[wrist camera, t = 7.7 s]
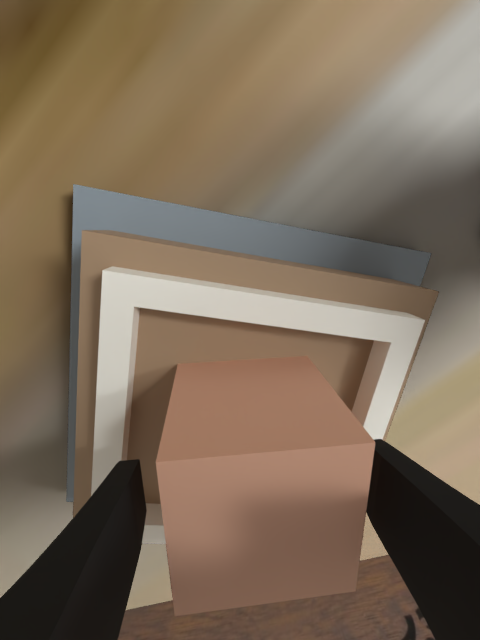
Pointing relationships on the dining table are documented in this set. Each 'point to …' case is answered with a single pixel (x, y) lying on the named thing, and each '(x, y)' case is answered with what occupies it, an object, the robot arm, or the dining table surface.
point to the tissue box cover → (297, 615)
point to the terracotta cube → (260, 485)
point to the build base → (221, 321)
